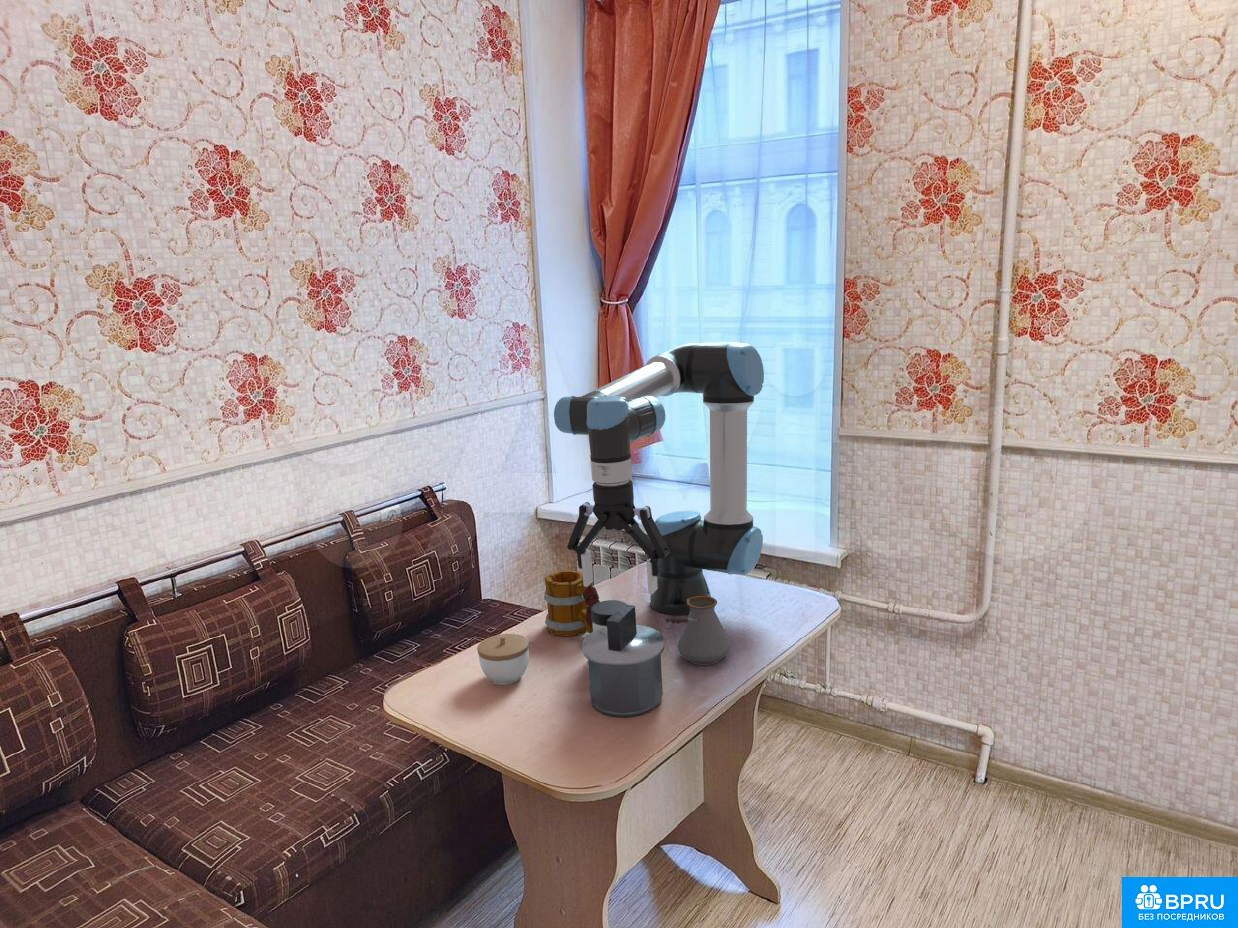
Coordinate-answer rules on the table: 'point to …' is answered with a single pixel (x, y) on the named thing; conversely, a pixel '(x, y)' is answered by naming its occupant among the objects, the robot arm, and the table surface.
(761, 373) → the robot arm
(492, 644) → the lidded jar
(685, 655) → the coffee pot
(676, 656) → the table surface
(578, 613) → the mug
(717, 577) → the table surface
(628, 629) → the lid
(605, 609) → the jar
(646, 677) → the pot
